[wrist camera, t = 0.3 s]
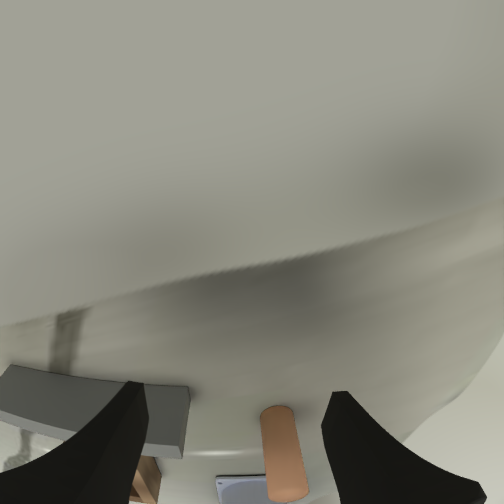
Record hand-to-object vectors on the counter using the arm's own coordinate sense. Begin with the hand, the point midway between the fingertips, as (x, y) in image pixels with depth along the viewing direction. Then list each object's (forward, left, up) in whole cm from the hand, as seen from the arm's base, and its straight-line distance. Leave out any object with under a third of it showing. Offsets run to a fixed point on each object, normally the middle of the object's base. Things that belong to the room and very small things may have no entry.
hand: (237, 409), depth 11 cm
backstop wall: (-9, +13, -10) cm, 18 cm away
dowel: (-12, -3, -10) cm, 15 cm away
